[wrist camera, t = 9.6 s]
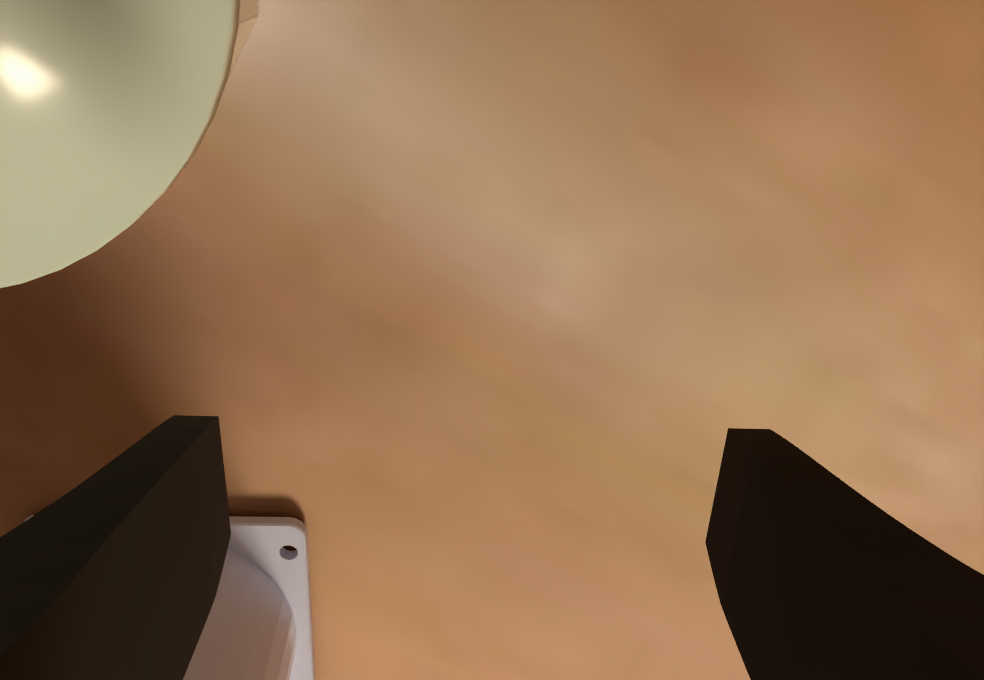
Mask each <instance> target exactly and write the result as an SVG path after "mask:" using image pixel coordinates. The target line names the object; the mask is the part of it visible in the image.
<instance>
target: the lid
mask: <svg viewBox="0 0 984 680" xmlns="http://www.w3.org/2000/svg"><path fill="white" fill-rule="evenodd" d="M239 12H240V0H0V288H3V287H8V286H13V285H18V284H22V283H25V282H28V281H30V280H33V279H36V278H39V277H42V276H44V275H47V274H50V273H53V272H56V271H58V270H61V269H63V268H65V267H67V266H69V265H71V264H72V263H74V262H76V261H78V260H80V259H82V258H84V257H86V256H88V255H89V254H91V253H93V252H95V251H97V250H98V249H100V248H101V247H102V246H104V245H105V244H106V243H108V242H109V241H110V240H112V239H113V238H115V237H116V236H117V235H119V234H120V233H121V232H123V231H124V230H125V229H127V228H128V227H129V226H131V225H132V224H133V223H134V222H135V221H136V220H137V219H138V218H139V217H140V216H141V215H142V214H143V213H144V212H145V211H146V210H147V209H148V208H149V207H150V206H151V205H152V204H153V203H154V202H155V201H156V200H157V199H158V198H159V197H160V196H161V195H162V194H163V193H164V192H165V191H166V190H167V189H168V188H169V187H170V186H171V185H172V184H173V183H174V181H175V180H176V178H177V177H178V176H179V174H180V173H181V172H182V170H183V169H184V168H185V166H186V165H187V163H188V162H189V161H190V159H191V158H192V157H193V155H194V154H195V152H196V150H197V148H198V147H199V145H200V143H201V141H202V139H203V137H204V135H205V133H206V131H207V129H208V127H209V126H210V124H211V122H212V120H213V118H214V116H215V113H216V110H217V108H218V105H219V102H220V99H221V96H222V93H223V90H224V88H225V85H226V82H227V79H228V76H229V73H230V68H231V63H232V58H233V53H234V48H235V43H236V38H237V33H238V27H239Z"/></svg>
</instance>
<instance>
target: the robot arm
mask: <svg viewBox="0 0 984 680" xmlns="http://www.w3.org/2000/svg"><path fill="white" fill-rule="evenodd" d="M287 545H289V546H293V547H295V548H296V549H297V550H295V551H288V550H286V549H285V548H283V546H287ZM706 546H707V551H708V555H709V559H710V564H711V568H712V572H713V576H714V580H715V584H716V588H717V592H718V595H719V599H720V603H721V606H722V609H723V611H724V614H725V616H726V619H727V622H728V624H729V627H730V629H731V632H732V634H733V637H734V639H735V642H736V644H737V647H738V649H739V652H740V654H741V657H742V659H743V662H744V664H745V667H746V669H747V672H748V674H749V677H750V679H751V680H984V575H983V574H981V573H979V572H977V571H976V570H974V569H972V568H970V567H969V566H967V565H965V564H964V563H962V562H960V561H959V560H957V559H955V558H954V557H952V556H951V555H949V554H947V553H946V552H944V551H943V550H941V549H940V548H938V547H937V546H935V545H933V544H932V543H930V542H929V541H927V540H926V539H924V538H923V537H921V536H920V535H918V534H917V533H915V532H913V531H912V530H910V529H909V528H907V527H906V526H904V525H903V524H902V523H900V522H899V521H897V520H896V519H894V518H893V517H891V516H890V515H888V514H887V513H886V512H884V511H883V510H881V509H880V508H879V507H877V506H876V505H874V504H873V503H872V502H870V501H869V500H867V499H866V498H865V497H863V496H862V495H861V494H859V493H858V492H856V491H855V490H854V489H852V488H851V487H850V486H848V485H847V484H846V483H844V482H843V481H842V480H840V479H839V478H837V477H836V476H835V475H833V474H832V473H831V472H829V471H828V470H827V469H825V468H824V467H823V466H821V465H820V464H819V463H817V462H816V461H815V460H813V459H812V458H811V457H809V456H808V455H807V454H805V453H804V452H803V451H801V450H800V449H799V448H797V447H796V446H794V445H793V444H792V443H790V442H789V441H787V440H786V439H784V438H783V437H781V436H780V435H778V434H777V433H775V432H774V431H772V430H770V429H733V428H728V432H727V437H726V442H725V447H724V452H723V457H722V462H721V467H720V472H719V477H718V482H717V487H716V492H715V497H714V502H713V507H712V512H711V517H710V522H709V527H708V532H707V537H706ZM0 680H315V666H314V647H313V629H312V611H311V592H310V574H309V556H308V537H307V529H306V526H305V525H304V524H303V522H302V521H300V520H298V519H296V518H291V517H238V516H229V510H228V501H227V492H226V482H225V473H224V464H223V455H222V445H221V436H220V427H219V417H218V416H175V415H174V416H173V417H171V418H169V419H168V420H166V421H165V422H163V423H162V424H161V425H159V426H158V427H157V428H155V429H154V430H152V431H151V432H150V433H148V434H147V435H146V436H144V437H143V438H142V439H140V440H139V441H138V442H136V443H135V444H134V445H132V446H131V447H130V448H128V449H127V450H126V451H125V452H123V453H122V454H121V455H119V456H118V457H117V458H115V459H114V460H112V461H111V462H110V463H108V464H107V465H106V466H104V467H103V468H102V469H100V470H99V471H97V472H96V473H95V474H93V475H92V476H91V477H89V478H88V479H87V480H85V481H84V482H83V483H81V484H80V485H78V486H77V487H76V488H74V489H73V490H71V491H70V492H69V493H67V494H66V495H64V496H63V497H61V498H60V499H58V500H57V501H55V502H54V503H52V504H51V505H49V506H48V507H46V508H45V509H43V510H42V511H40V512H39V513H37V514H36V515H31V516H29V517H27V518H26V519H25V520H24V522H23V523H22V524H20V525H19V526H17V527H16V528H14V529H13V530H11V531H10V532H8V533H7V534H5V535H3V536H2V537H0Z"/></svg>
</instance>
